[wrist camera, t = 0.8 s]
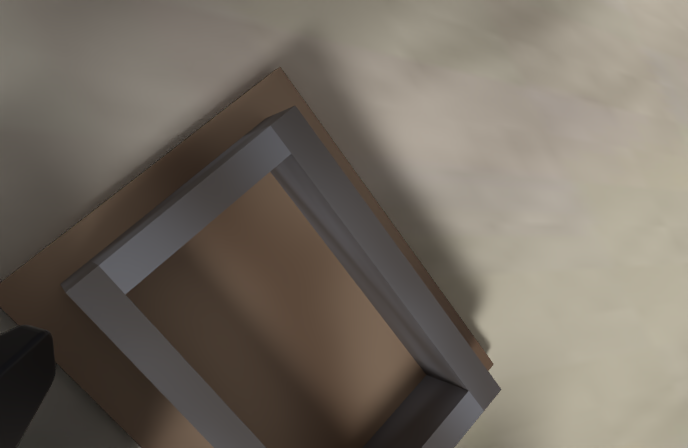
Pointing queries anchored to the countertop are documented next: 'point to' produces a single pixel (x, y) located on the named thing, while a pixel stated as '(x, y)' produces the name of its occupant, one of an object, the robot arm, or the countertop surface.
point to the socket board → (255, 299)
